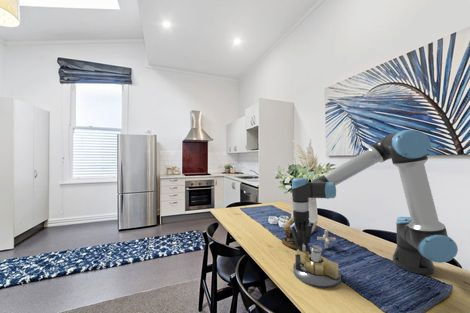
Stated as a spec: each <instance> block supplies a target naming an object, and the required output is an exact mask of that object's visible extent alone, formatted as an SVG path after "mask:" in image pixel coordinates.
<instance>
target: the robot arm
mask: <svg viewBox="0 0 470 313" xmlns="http://www.w3.org/2000/svg"><path fill="white" fill-rule="evenodd" d="M430 149H431V139H430V138H429V137H428V136H427V135H426V133H424V132H422V131H419V130H417V129H404V130H400V131H397V132H391V133H389V134H387V135H384V137H382V138H380V139H379V140H378V141H376V142H374V143H373V144H371V145H369V146H368V149H367V150H365V151H364V152H361V153H360V154H357V156H355V157H353V158H351V159H350V160H348V161H346V162H343V163H342V164H341V165H339V166H337V167H335V168H334V169H332V170H330V171H328V172H326V173H325V174H323V175H322V176H320V177H317V178H315V179H313V180H312V181H311V182H310V181H309V180H308V178H306V177H294V178H293V179H292V180H291V193H292V194H291V195H292V197H291V198H292V209H293V210H292V217H294V221H293V224H292V225H290V226H289V227H290V229H291V231H292V235H293V239H294V243H295V244H297V245H298V248H299V250H300V251H307V248H308V246H309V244H310V243H311V238H312V237H311V236H312V231H313V227H314V225H315V224H314V222H312V221H310V202H309V199H335V198H336V196H337V187H336V186H337V185H339V184H341V183H343V182H345V181H347V180H348V179H350V178H352V177H353V176H356V175H358V174H360V173H361V172H363V171H365V170H366V169H369V168H370V167H372V166H374V165H376V164H377V163H384V162H385V161H386V162H387V161H388V160H390V159H391V162H392V165H394V166H395V167H397V168H398V173H399V175H400V177H399V178H400V180H401V184H402V188H403V191H404V192H403V193H404V196H405V200H406V204H407V208H408V212H409V215H410V216H399V217H397V218H396V222H395V224H396V248H395V249H394V252H393V255H392V263H393V264H394V265H395V266H397V267H398V268H400V269H402V270H405V271H407V272H410V273H414V274H419V275H432V274H434V273H435V265H434V263H439V264H441V263H447V262H450V261H452V260H453V258H456V256H457V254H458V251H459V250H458V245H457V243H456V241H454V239H453V238H451V237H449V235H448V232H447V228H446V225H445V224H444V223H442V222H441V221H439V217H438V213H437V210H436V206H435V201H434V196H433V194H432V189H431V186H430V182H429V177H428V174H427V170H426V166H425V163H427V161H428V160H429V158H428V152H429V151H430ZM295 226H296V227H295ZM296 230H297V231H296ZM307 252H308V251H307Z"/></svg>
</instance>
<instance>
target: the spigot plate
mask: <svg viewBox="0 0 470 313" xmlns="http://www.w3.org/2000/svg"><path fill="white" fill-rule="evenodd" d="M309 250H310V254H311V261H312V262H314V263H321V256H322V252H323V247H322V246H320V245H318V244H317V245H316V244H311V245H310V246H309ZM294 256H295V257H294V258H295V260H294V263H293V265H292V268H293V269H292V270H293V274H294V277H295V278H297V279H298V280H299V281H300V282H302V283H304V284H306V285H308V286H310V287H314V288H319V289H330V288H335V287H338V286H339V285H340V284H341V281H342V273H341V271H340V270H339V269H338V274H339V277H338V278H337V279H334V278H332V277H330V276H328V275H326V274H325V275H324V274H323V275H315V273H314V274H312V273H310V272H308V271H306V270H305V267H304V264H302V263H301V258H300V255H299V254H297V253H296V254H294Z"/></svg>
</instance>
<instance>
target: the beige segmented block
mask: <svg viewBox="0 0 470 313" xmlns="http://www.w3.org/2000/svg"><path fill="white" fill-rule="evenodd" d="M309 252H310V251H300V250H299V249H297V250H296V254H299V255H300V258H301V263H302V264H304V267H305V270H306V271H308V272H310V273H312V274H314V273H315V275H323V274H324V275H325V274H326V275H328V276H330V277H332V278H334V279H337V278H338V277H339V274H338V270H339V263H337V262H334V261H332V260H329V259H328V258H326V257H325V256H322V255H321V263H314V262H312V261H311V253H309Z"/></svg>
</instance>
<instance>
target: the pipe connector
mask: <svg viewBox="0 0 470 313" xmlns="http://www.w3.org/2000/svg"><path fill="white" fill-rule="evenodd" d="M316 238H317V239H316V240H317V241H324V248H325V249H329V245H330V244H331V242H336V241H337V238H336V237H331V236H330V237H329V230H328V229H324V234H322V236H316Z"/></svg>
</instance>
